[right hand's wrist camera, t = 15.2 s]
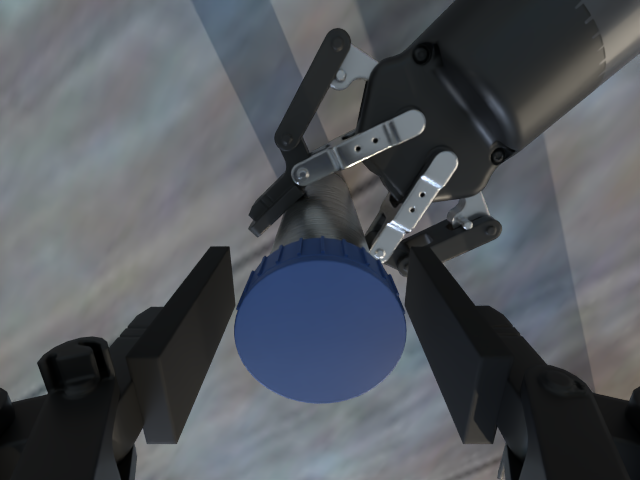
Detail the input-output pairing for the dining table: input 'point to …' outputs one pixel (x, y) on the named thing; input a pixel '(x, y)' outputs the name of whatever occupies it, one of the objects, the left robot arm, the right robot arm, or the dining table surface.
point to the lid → (320, 321)
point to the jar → (322, 215)
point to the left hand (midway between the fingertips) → (288, 257)
